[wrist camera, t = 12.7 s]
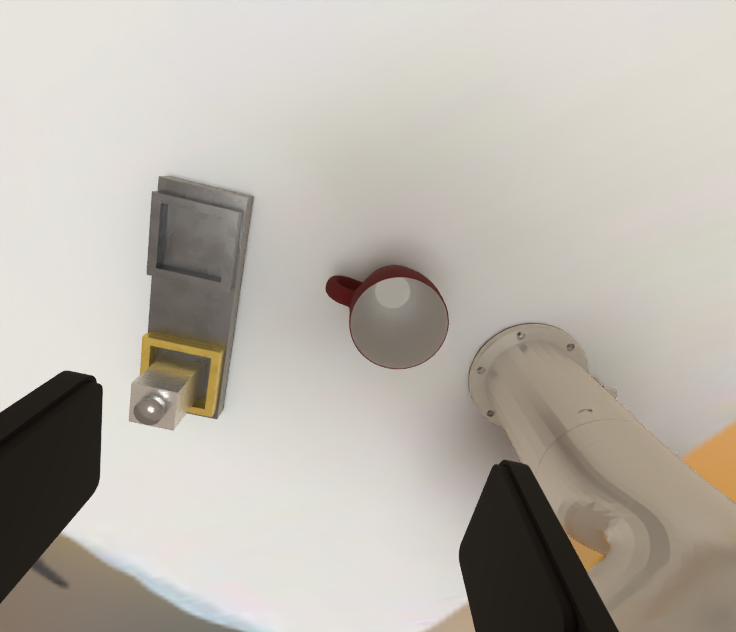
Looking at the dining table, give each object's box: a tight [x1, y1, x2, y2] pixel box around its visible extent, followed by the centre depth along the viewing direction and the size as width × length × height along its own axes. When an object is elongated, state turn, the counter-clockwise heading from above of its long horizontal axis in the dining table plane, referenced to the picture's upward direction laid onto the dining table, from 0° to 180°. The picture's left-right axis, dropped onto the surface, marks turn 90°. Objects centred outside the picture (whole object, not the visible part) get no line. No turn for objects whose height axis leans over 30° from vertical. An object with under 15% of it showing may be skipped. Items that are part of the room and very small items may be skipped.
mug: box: [326, 266, 449, 369], centre depth 38 cm, size 11×8×10 cm
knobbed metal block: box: [129, 350, 207, 431], centre depth 40 cm, size 4×4×8 cm
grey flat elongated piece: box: [140, 176, 253, 419], centre depth 42 cm, size 8×24×4 cm, turn 167°
